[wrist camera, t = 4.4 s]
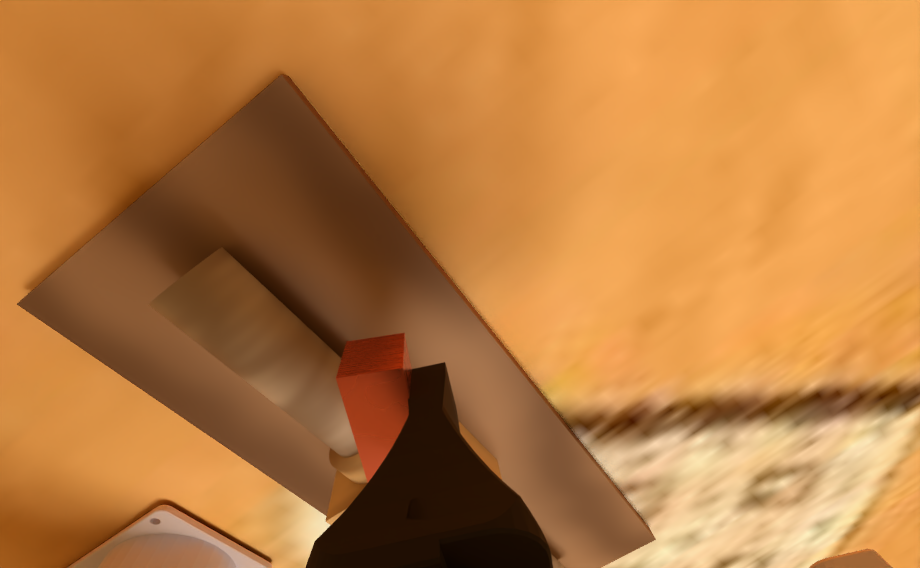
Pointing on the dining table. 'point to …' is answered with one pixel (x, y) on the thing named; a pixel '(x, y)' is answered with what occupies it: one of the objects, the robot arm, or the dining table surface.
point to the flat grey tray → (311, 323)
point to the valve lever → (375, 394)
